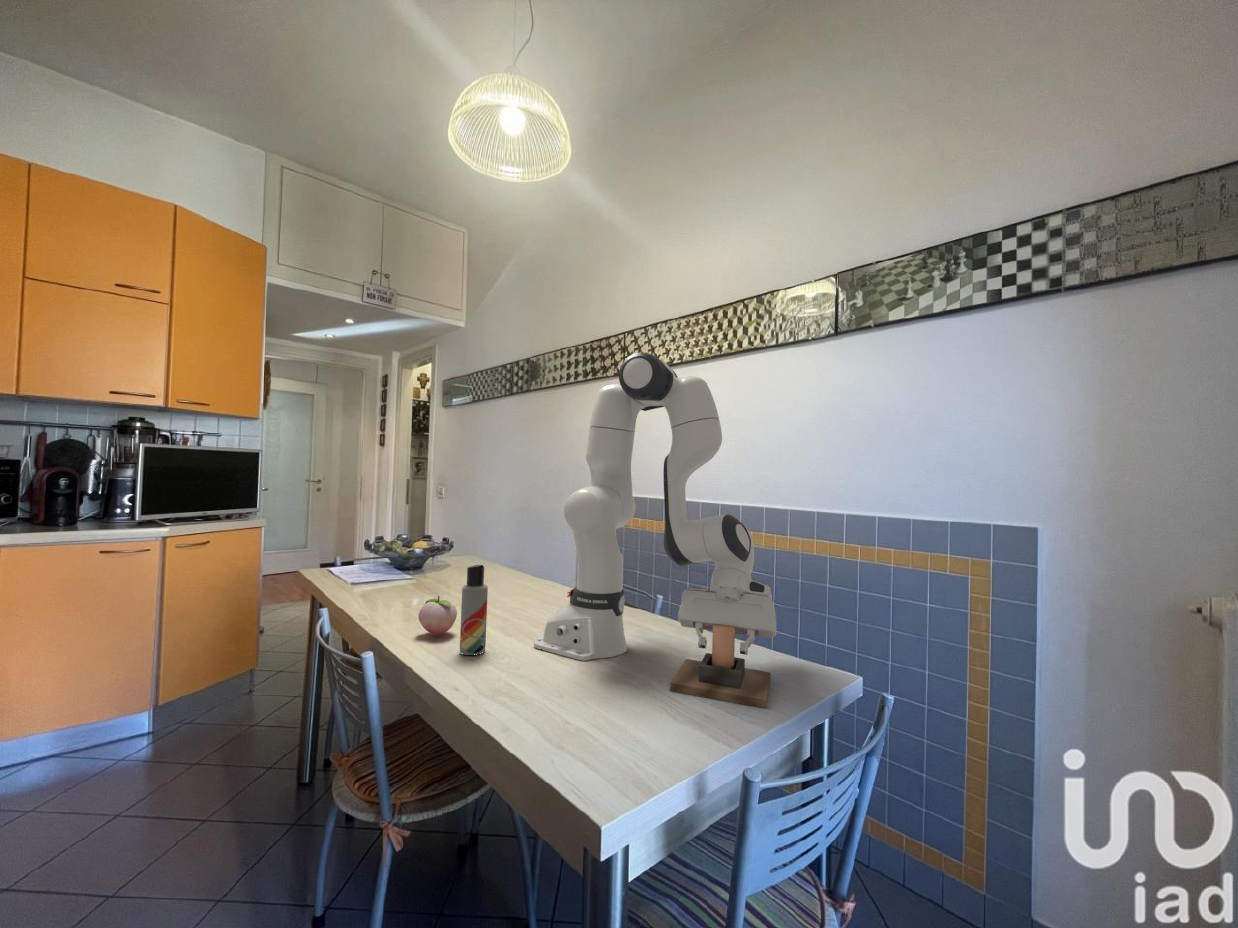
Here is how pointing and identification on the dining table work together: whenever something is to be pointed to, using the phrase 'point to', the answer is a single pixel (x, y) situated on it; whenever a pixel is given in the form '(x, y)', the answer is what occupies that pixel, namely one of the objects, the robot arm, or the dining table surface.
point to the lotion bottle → (474, 612)
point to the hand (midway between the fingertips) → (722, 649)
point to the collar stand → (723, 682)
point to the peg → (723, 646)
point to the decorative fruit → (437, 616)
